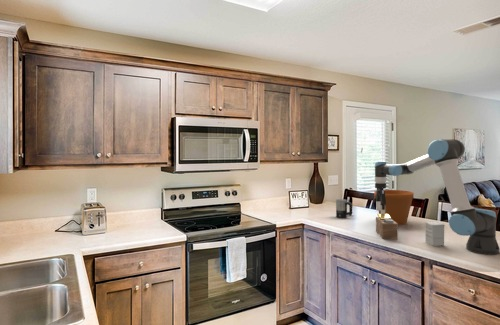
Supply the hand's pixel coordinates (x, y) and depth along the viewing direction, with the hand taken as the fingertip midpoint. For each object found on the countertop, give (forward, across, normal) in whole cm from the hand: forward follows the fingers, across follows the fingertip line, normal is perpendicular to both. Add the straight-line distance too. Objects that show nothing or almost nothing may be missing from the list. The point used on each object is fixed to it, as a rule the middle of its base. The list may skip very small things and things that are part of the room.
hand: (380, 212), depth 228 cm
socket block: (+12, -15, 0) cm, 20 cm away
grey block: (+12, -21, 0) cm, 24 cm away
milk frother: (+13, +43, +20) cm, 49 cm away
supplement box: (+12, -34, -23) cm, 43 cm away
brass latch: (+2, -14, 0) cm, 14 cm away
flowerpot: (+13, +24, -15) cm, 31 cm away
